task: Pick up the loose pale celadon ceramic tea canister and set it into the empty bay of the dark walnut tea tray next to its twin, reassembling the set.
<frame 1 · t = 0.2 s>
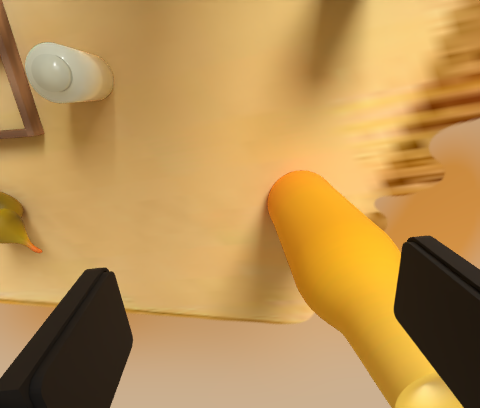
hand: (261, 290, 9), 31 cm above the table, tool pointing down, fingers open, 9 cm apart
celadon canister: (91, 77, 34), on the table
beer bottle: (297, 199, 42), on the table
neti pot: (11, 203, 40), on the table
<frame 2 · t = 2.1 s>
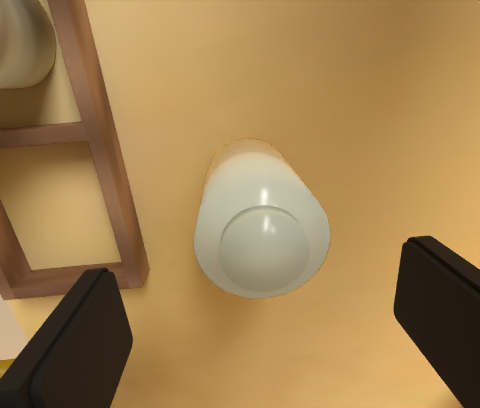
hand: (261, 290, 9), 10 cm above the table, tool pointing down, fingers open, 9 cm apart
celadon canister: (248, 179, 18), on the table
walnut tray: (37, 132, 17), on the table
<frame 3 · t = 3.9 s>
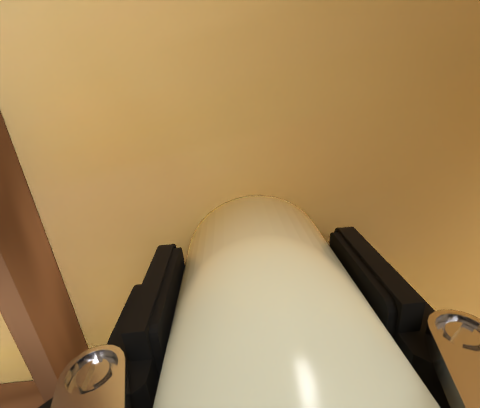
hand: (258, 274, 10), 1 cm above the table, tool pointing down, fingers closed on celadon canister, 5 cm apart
celadon canister: (255, 258, 11), on the table, touching gripper
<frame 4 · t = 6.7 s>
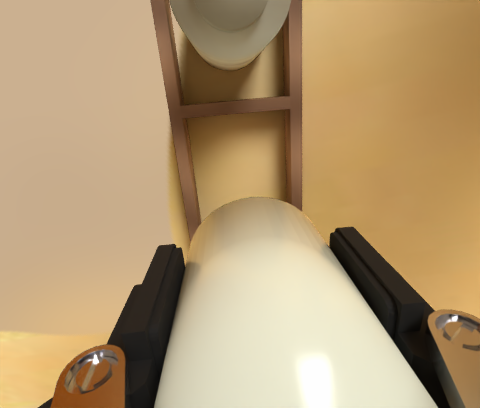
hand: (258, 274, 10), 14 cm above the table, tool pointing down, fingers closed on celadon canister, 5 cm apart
celadon canister: (255, 259, 11), point 13 cm above the table, touching gripper
walnut tray: (234, 106, 21), on the table
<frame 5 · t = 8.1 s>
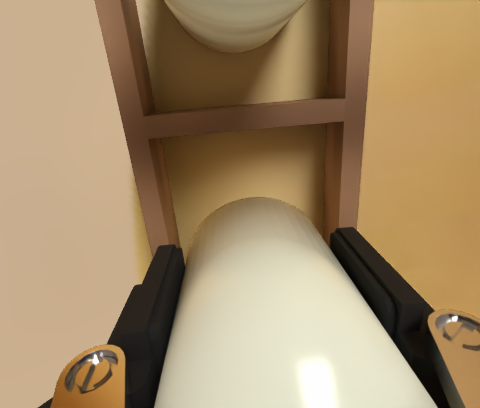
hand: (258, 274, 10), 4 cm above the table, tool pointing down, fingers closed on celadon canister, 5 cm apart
celadon canister: (255, 259, 11), point 3 cm above the table, touching gripper
walnut tray: (242, 114, 12), on the table
when the fingers open (2 cm above the table, at t = 9.4 s): celadon canister drops 1 cm, resting in walnut tray.
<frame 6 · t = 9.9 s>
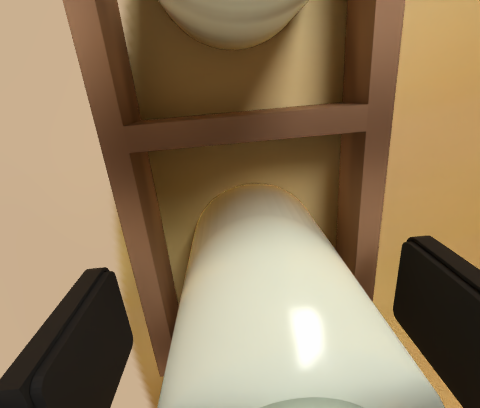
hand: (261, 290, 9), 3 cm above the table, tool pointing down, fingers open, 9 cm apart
celadon canister: (254, 240, 12), resting in walnut tray
walnut tray: (243, 122, 11), on the table
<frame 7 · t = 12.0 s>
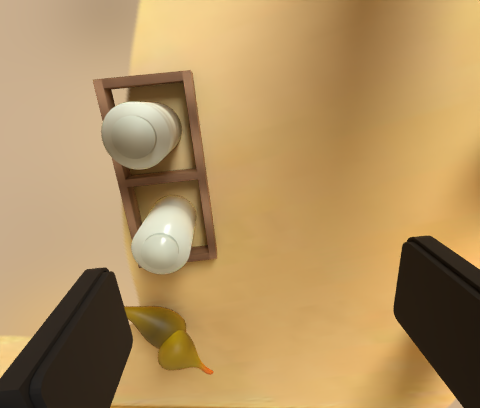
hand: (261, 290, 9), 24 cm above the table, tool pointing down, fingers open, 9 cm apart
celadon canister: (174, 216, 33), resting in walnut tray
walnut tray: (165, 175, 32), on the table
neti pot: (169, 315, 38), on the table
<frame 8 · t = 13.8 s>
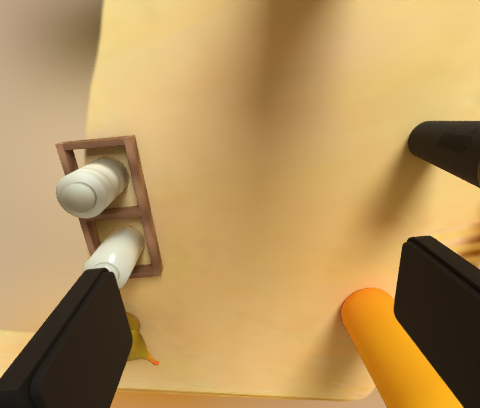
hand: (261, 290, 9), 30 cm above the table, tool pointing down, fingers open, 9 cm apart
celadon canister: (126, 241, 42), resting in walnut tray
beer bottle: (365, 307, 49), on the table
walnut tray: (118, 210, 40), on the table
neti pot: (127, 317, 47), on the table
drinking cup: (424, 139, 39), on the table
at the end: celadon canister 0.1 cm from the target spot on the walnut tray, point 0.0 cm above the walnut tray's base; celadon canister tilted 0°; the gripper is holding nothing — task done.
